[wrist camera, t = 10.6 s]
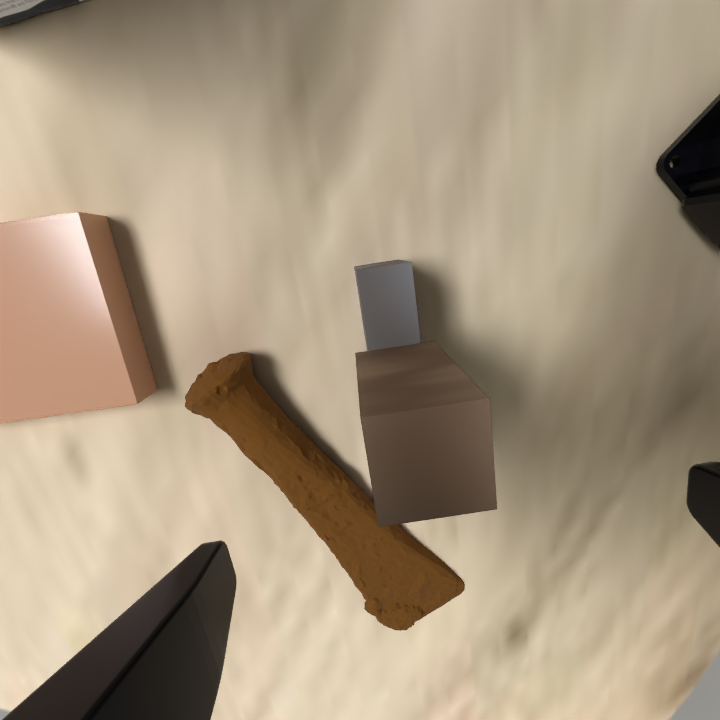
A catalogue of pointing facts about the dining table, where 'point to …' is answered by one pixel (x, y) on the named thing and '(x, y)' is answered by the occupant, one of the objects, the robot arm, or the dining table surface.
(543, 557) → the dining table surface
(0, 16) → the candy box
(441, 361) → the two-tone stacked blocks
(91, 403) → the tan block
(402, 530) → the primitive tool
